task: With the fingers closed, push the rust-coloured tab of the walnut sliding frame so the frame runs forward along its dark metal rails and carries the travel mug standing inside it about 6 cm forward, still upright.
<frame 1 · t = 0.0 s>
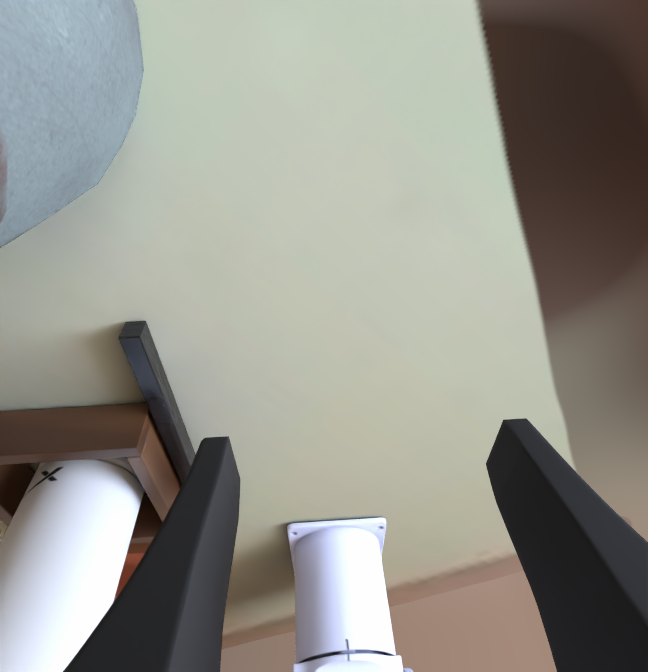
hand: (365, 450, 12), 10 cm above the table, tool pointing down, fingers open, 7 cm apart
rails: (90, 449, 27), on the table
bottle: (8, 11, 13), on the table
travel mug: (98, 457, 28), resting in carrier
carrier: (105, 520, 29), point 2 cm above the table, slide at 0.0 cm
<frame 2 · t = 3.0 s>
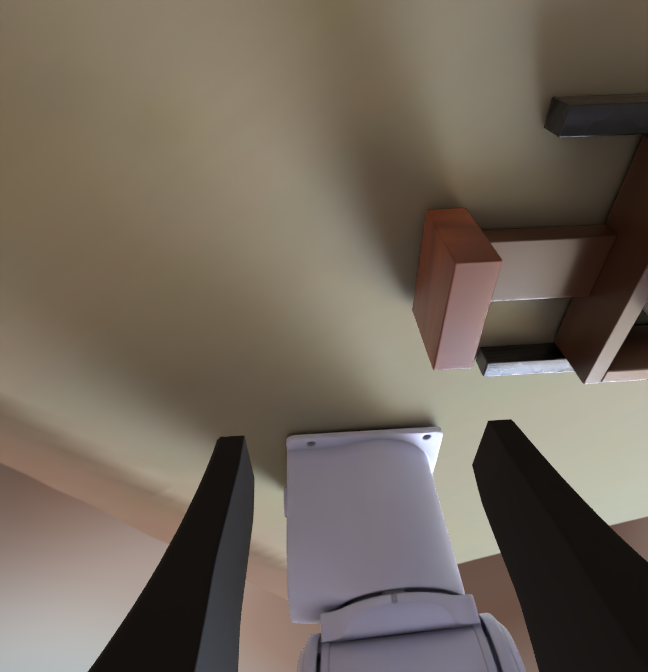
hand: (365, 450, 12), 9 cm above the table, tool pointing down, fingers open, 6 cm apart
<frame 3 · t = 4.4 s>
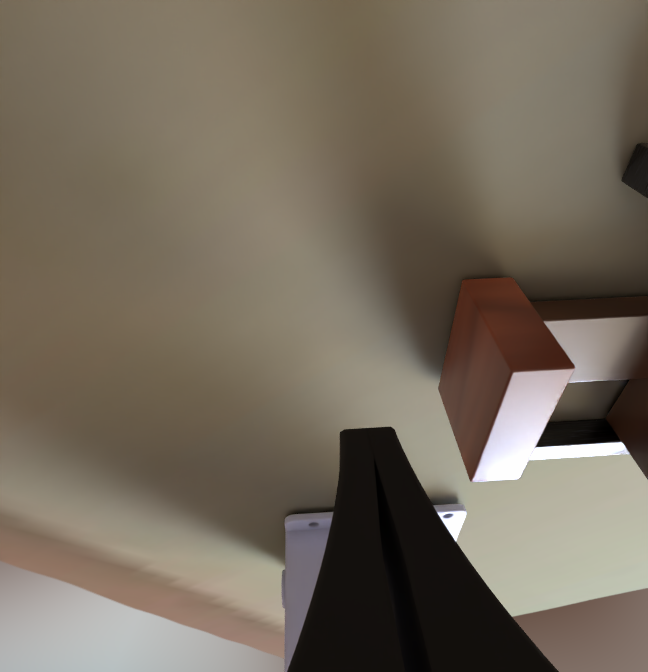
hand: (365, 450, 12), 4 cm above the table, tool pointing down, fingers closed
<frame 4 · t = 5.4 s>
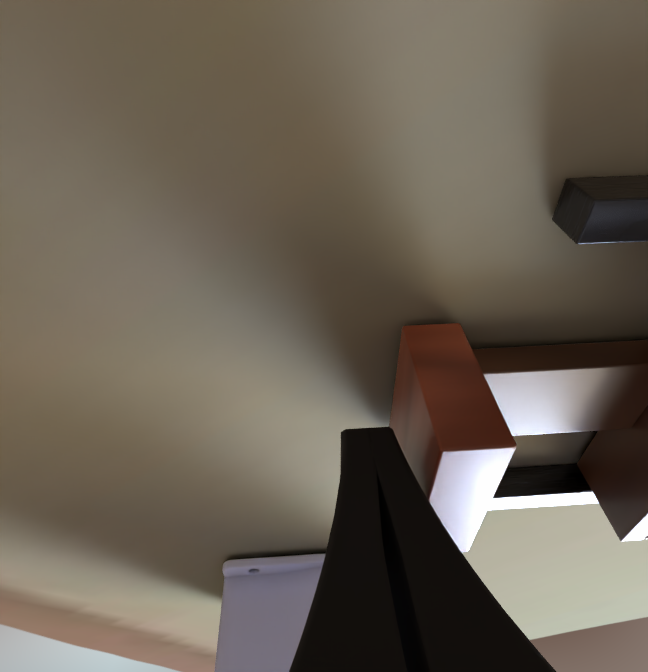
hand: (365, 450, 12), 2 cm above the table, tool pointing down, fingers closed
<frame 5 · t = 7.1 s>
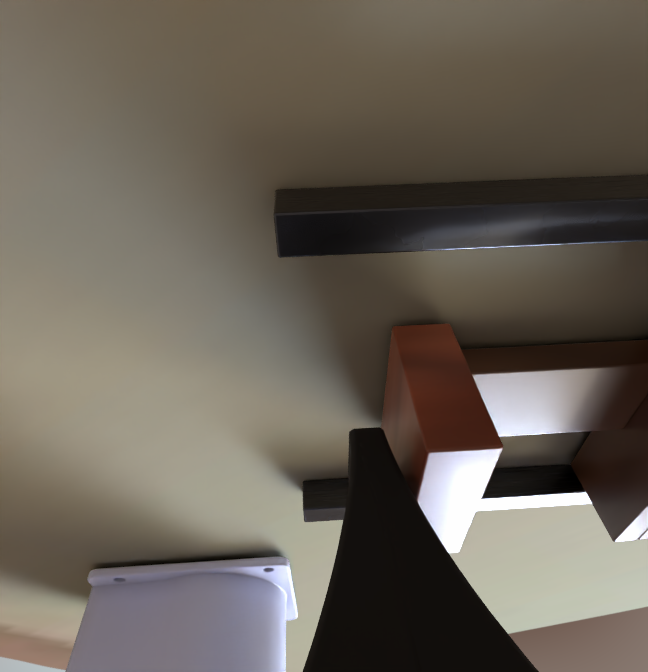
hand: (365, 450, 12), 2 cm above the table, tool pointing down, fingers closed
rails: (609, 370, 14), on the table
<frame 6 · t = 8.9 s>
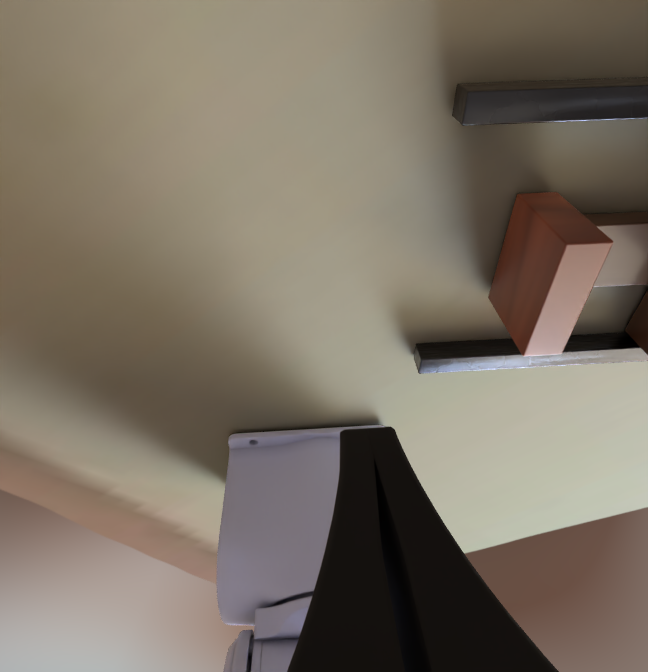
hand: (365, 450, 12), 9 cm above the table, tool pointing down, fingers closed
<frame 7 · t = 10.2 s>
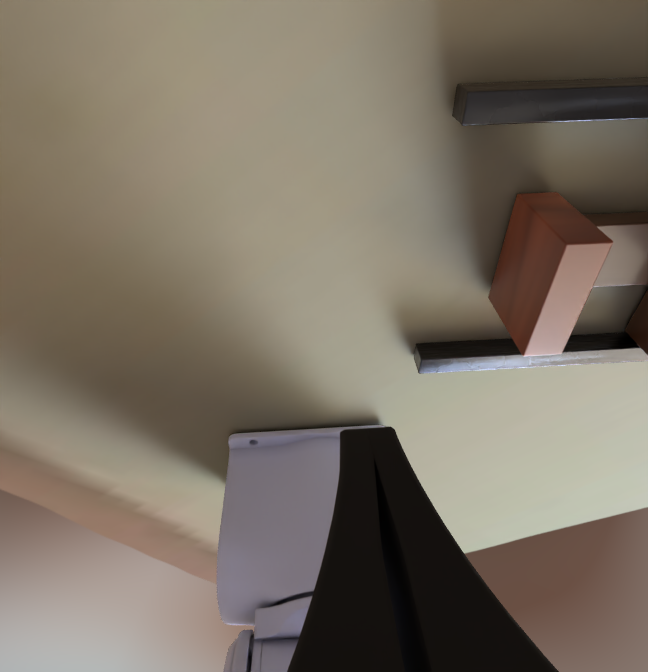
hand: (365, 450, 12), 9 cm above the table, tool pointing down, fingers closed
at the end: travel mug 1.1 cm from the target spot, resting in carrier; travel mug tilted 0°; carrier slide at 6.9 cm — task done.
